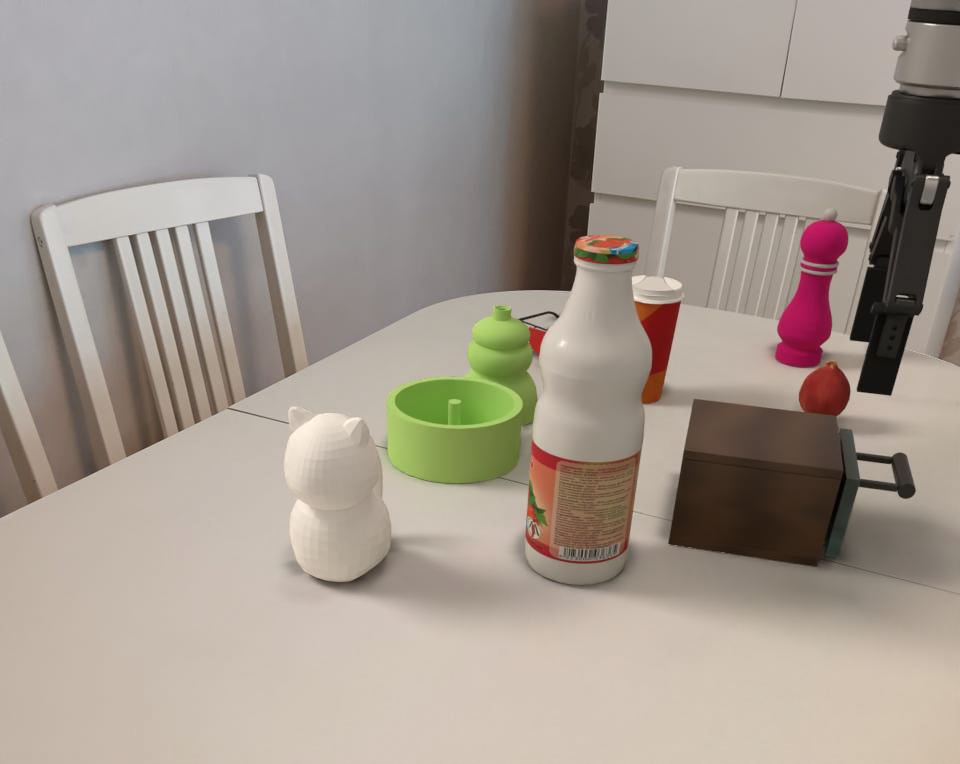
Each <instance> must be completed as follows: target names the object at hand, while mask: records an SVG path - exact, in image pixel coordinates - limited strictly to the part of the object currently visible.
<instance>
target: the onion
mask: <svg viewBox="0 0 960 764" xmlns="http://www.w3.org/2000/svg"><path fill="white" fill-rule="evenodd" d="M850 399H851V384H850V382H849V380H848V378H847V376H846V375H845V372H844V371H843V370H842V369H840V367H839V366H838V364H837V361H836V360H834V359H829V360H828V361H826V362H825V365H823V366H821V367H818V368H816V369H814V370H812V371H811V372H810V373H809V374H808V375H807V376H806V377H805V379H804V380H803V382H802V384H801V386H800V388H799V392H798V403H799V406H800V408H801V410H802V412H808V413H816V414H824V415H832V416H836V417H838V416H839V415H841V414H842V413H843V412H844V410H845V409H846V408H847V406H848V404H849V402H850Z"/></svg>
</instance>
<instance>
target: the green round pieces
mask: <svg viewBox="0 0 960 764" xmlns="http://www.w3.org/2000/svg"><path fill="white" fill-rule="evenodd" d="M518 319H519V318H516V317H514V316H512V307H511V306H510V305H505V304H498V305H494V306H492V315H490V316H487V317H484V318H482V319H480V320H479V321H477V322H476V323H475V325H474V326H473V327H472V329H471V338H472V339H473V340H472V341H470V343H469V345H468V347H467V353H466V354H467V355H466V356H467V362H468V365H469V366H470V370H469V371H468V372H467V373H466V375H465V376H435V377H427V378H421V379H416V380H412V381H409V382H405V383H403V384H401V385H399V386H397V387H395V388H394V389H392V390H391V391H390V392H389V394H388V395H387V397H386V403H385V404H386V441H387V443H386V445H387V457H388V460H389V462H390V463H391V465H392V466H394V467H395V469H397V470H398V471H400V472H402V473H404V474H406V475H408V476H410V477H413V478H416V479H421V480H424V481H429V482H435V483H441V484H472V483H479V482H485V481H488V480H492V479H493V480H494V479H496V478H498V477H501V476H503V475H506V474H508V473H509V472H511V471H512V470H513V469H514V468H515V467H516V466H517V465H518V463H519V461H520V453H521V438H522V437H521V436H522V427H524V426H527V425H529V424H531V423H533V419H534V413H535V407H536V404H537V401H538V391H537V386H536V383H535V380H534V379H533V377H532V376H531V374H530V372H528V370H529V369H530V367H531V365H532V363H533V360H534V359H533V358H534V356H533V349H532V348H531V345H530V344H529V340H530V331H529V326H528V324H526V323H523V322H522V321H520V320H518Z"/></svg>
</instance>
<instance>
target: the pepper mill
mask: <svg viewBox="0 0 960 764" xmlns="http://www.w3.org/2000/svg"><path fill="white" fill-rule="evenodd" d="M837 218H838V211H837V208H835V207H827V208H826V209H825V210H824V211H823V214H822V219H818V220H815V221H814V222H812V223H810V224H809V225H807V227H805V229H804V231H803V232H802V234H801V238H800V241H799V246H800V251H801V252H802V254H803V256H802V257H801V258H800V259H799V261H800V263H799V265H798V270H799V271H800V277H799V282H798V285H797V289H796V291H795V293H794V296H793V297H792V299H791V300H790V302H789V303H788V305H786V308H785V309H784V311H783V312H782V314H781V316H780V318H779V321H778V323H777V327H776V331H777V335H778V337H779V338H780V340H781V341H780V342H778V344H776V348H775V354H774V358H775V360H776V361H778V362H779V363H781V364H783V365H786V366H791V367H796V368H812V367H816V366H819V365H820V364H821V361H822V357H823V352H824V350H823V348H822V347H821V346H823V344H825V343H826V342H827V341H828V340H829V339H830V338H831V335H832V329H833V316H832V311H831V305H830V288H831V283H832V279H833V277H834V275H836V274H837V273H838V267H839V266H840V262H839V261H838V259H839V258H840V257H841V256H842V255H843V254H845V252H847V248H848V245H849V232H848V230H847V228H846V227H845V226H844V225H843V224H842V223H841V222H838V221H836V220H837Z"/></svg>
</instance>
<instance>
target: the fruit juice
mask: <svg viewBox="0 0 960 764" xmlns="http://www.w3.org/2000/svg"><path fill="white" fill-rule="evenodd" d="M573 257H574V258H573V263H574V265H575V266H576V272H575V277H574V281H573V284H572V288H571V290H570V293H569V296H568V298H567V300H566V304H565V305H564V308H563V310H562V311H561V313H560V315H559V316H560V317H559V318H558V319H557V318H556V320H555V321H554V322H553V323H552V324H551V325H550V326H549V328H548V329H547V330H548V331H545V332H546V334H545V336H544V338H543V340H542V343H541V348H540V355H538V364H539V365H538V366H539V372H540V376H541V381H542V390H541V393H540V394H539V396H538V398H537V404H536V407H535V413H534V419H533V421H532V429H531V445H530V446H531V447H530V448H531V449H530V462H529V474H528V475H529V476H528V491H527V492H528V493H527V504H526V505H527V508H526V518H525V519H526V520H525V535H524V555H525V558H526V562H527V563H528V566H529V567H530V568H531V569H532V570H533V571H534V572H536V573H537V574H538V575H540V576H541V577H543V578H546V579H548V580H551V581H554V582H557V583H561V584H566V585H567V584H568V585H574V586H575V585H576V586H587V585H595V584H600V583H603V582H604V583H605V582H606V581H609V580H611V579H613V578H615V577H616V576H618V574H619V573H620V572H621V571H622V570H623V567H624V566H625V563H626V559H627V557H628V550H629V545H630V544H629V542H630V536H631V529H632V524H633V523H632V522H633V514H634V509H635V500H636V494H637V493H636V492H637V487H638V486H637V485H638V478H639V471H640V464H641V458H642V457H641V456H642V450H643V443H644V437H645V425H646V414H645V407H644V404H642V398H641V396H642V391H643V389H644V386H645V384H646V382H647V379H648V377H649V374H650V371H651V367H652V347H651V343H650V340H649V338H648V336H647V334H646V332H645V330H644V328H643V327H642V325H641V323H640V321H639V318H638V315H637V311H636V307H635V301H634V295H633V289H632V277H633V271H634V270H635V269H636V267H637V266H638V261H639V257H640V245H639V242H638V241H636V240H634V239H631V238H628V237H624V236H620V235H614V234H613V235H611V234H591V235H584V236H580V237H579V238H577V239H576V240H575V243H574V249H573Z"/></svg>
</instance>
